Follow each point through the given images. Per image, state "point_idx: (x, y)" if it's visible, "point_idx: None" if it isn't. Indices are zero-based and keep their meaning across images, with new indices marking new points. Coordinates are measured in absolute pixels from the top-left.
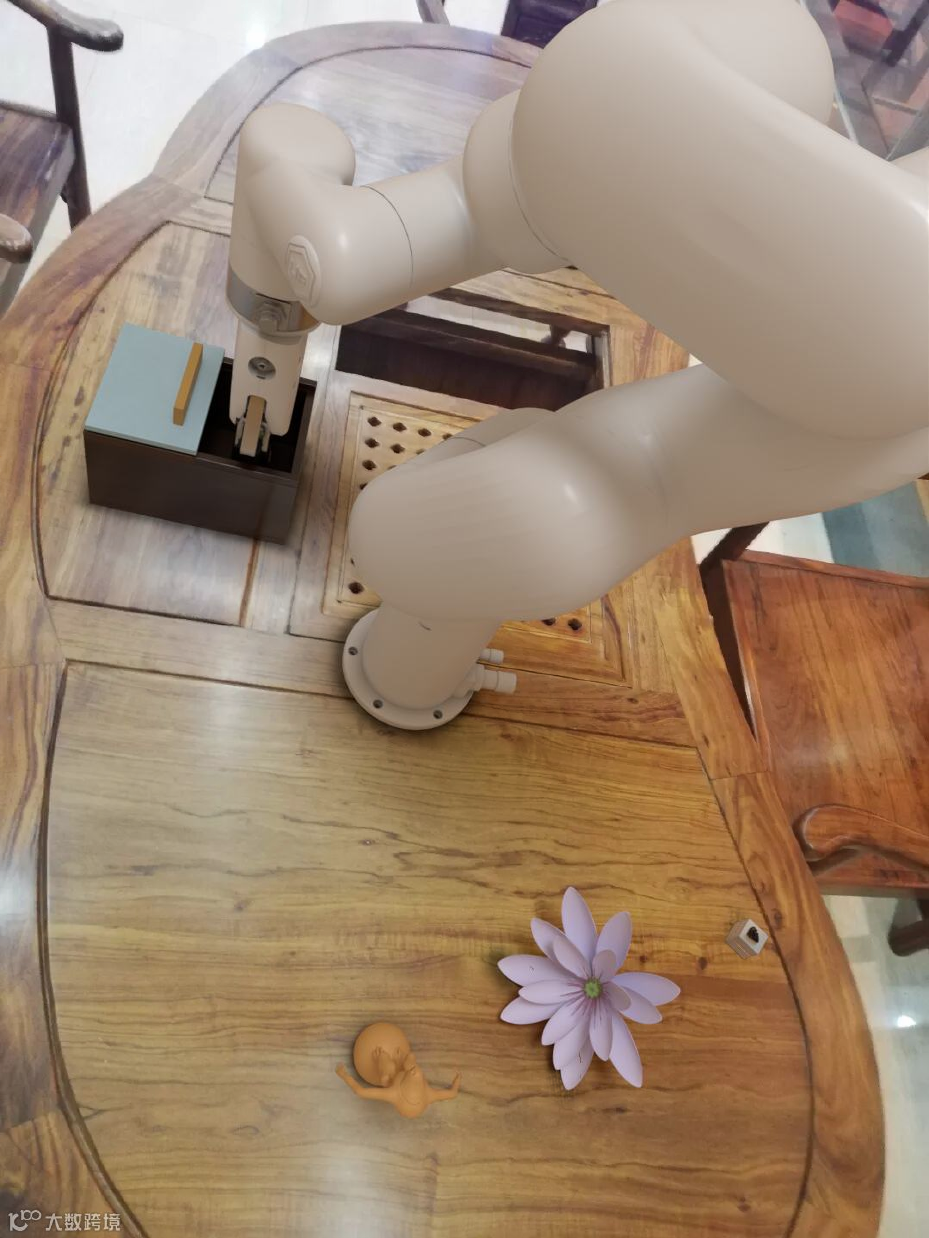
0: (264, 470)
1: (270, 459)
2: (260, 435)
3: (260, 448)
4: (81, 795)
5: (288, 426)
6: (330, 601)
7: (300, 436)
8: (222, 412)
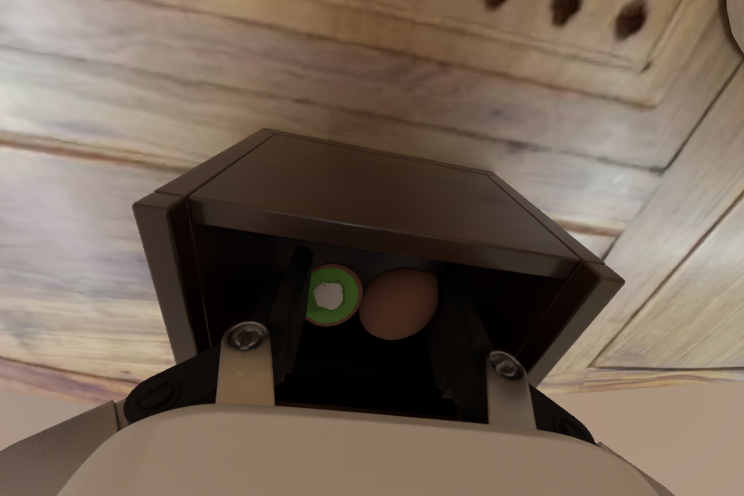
0: (555, 349)
1: (430, 275)
2: (361, 292)
3: (586, 440)
4: (727, 352)
5: (632, 490)
6: (638, 87)
7: (408, 250)
8: (262, 292)
